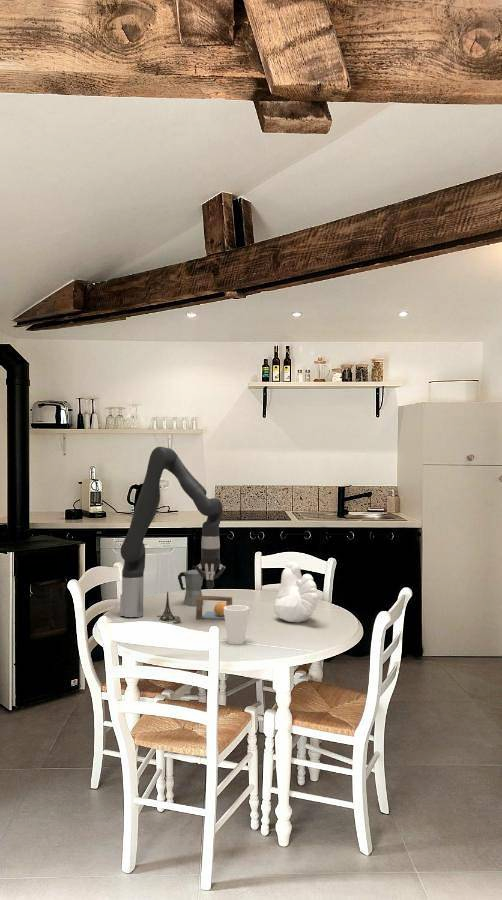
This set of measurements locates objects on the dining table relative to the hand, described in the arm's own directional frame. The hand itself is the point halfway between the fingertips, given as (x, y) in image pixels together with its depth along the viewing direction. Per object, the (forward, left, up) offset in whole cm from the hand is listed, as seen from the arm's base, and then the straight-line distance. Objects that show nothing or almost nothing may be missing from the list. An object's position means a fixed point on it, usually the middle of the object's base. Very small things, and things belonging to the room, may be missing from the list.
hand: (210, 588), depth 297 cm
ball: (+2, +16, -12) cm, 20 cm away
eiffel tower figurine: (-19, +5, -16) cm, 25 cm away
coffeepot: (-16, +36, -15) cm, 42 cm away
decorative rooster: (+35, +11, -15) cm, 40 cm away
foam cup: (+15, -24, -15) cm, 32 cm away
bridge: (0, +9, -15) cm, 17 cm away
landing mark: (0, +17, -15) cm, 23 cm away
